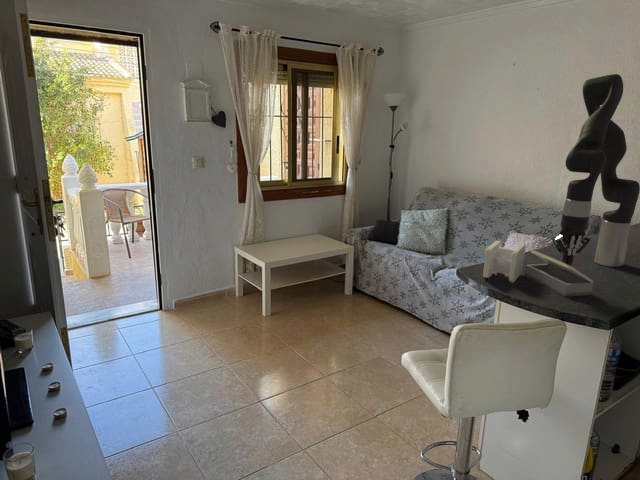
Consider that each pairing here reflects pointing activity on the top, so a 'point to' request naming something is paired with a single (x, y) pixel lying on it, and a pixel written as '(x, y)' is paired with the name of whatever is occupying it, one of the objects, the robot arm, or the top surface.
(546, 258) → the duct cover
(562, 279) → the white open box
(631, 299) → the top surface
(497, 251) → the cable organizer
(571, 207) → the robot arm
